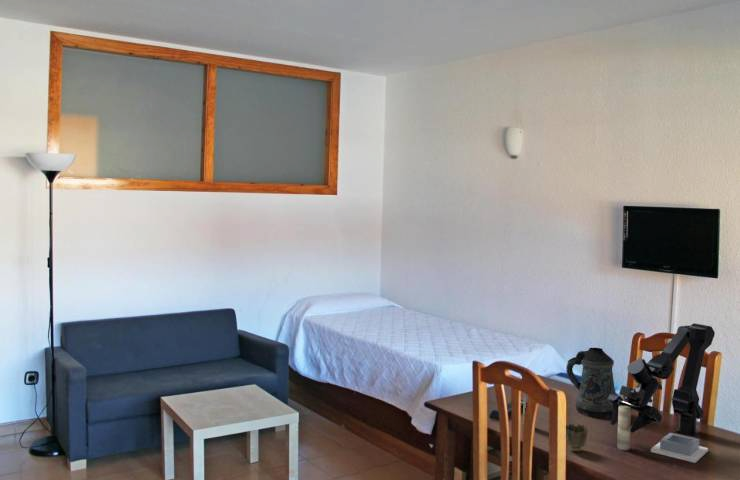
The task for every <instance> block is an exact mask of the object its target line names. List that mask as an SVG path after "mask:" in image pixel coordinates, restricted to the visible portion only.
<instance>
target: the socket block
mask: <svg viewBox="0 0 740 480" xmlns="http://www.w3.org/2000/svg"><path fill="white" fill-rule="evenodd" d="M650 452H651V453H655V454H657V455H658V454H659V455H662V456H667V457H669V458H670V457H671V458H674V459H677V460H683V461H687V462H690V463H694V464H695V463H697V462H698V461H699V460H700V459H701V458H702V457H703V456H704V455H706V453H707V452H709V448H708V447H705V446H702V445H700V439H699V438H694V437H691V436H686V435H682V434H678V433H673V432H669V433H668V434H666V435H665V436H663V437H662V438H661V439H660V441H659V442H657V444H655V445H654V446H652V447H651V448H650Z"/></svg>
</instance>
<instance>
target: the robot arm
mask: <svg viewBox="0 0 740 480" xmlns="http://www.w3.org/2000/svg"><path fill="white" fill-rule="evenodd" d="M715 334H716V333H715V330H714V328H713V327H712V325H711V326H710V325H705V324H701V323H692V324H690V325H682V326H681V325H680V326H678V328H677V330H676V333H675V334H674V335H673V336H672V338H671V339H670V340H669V342H668V344H667V345H666V346H665V347H664V348H663V350H662V351H661V353H659V354H656V355H654V356H653V357H652V358H651V359H649V360H648V362H646V360H645V359H644V358H641V357H638V359H637V360H634V361H632V362H631V363H628V365H627V367H626V368H627V372H628V373H629V374H630V376H631V377H632V379H633V380H634V382H636V383H637V386H636V387H634V386H633V387H629V386H625V385H621V387H620V391H619V395H617V394H616V395H614V394H610V395H609V397H608V398H607V400H608V401H609V402H610V404H611V405H612V406H613V415H612V418H611V422H610V425H611V426H614V425H616V424H618V408H619V406H628V407H631V411H635V412H637V418H636V419H635V421H634V422H633V424H632V426H631V427H630V434H632V433H634V432H637V431H638V430H640V429H642V428H643V427H647V426H648V425H650V424H654V423H655V424H660V423H661V421H662V419H663V417H662V414H661V413H660V411H659V410H658V409H657V408H656V407H654V406H652V405H649V403H650V404H652V403H653V399H652V398H653V396H654V394H655V393H656V392H657V390H660V391H662V390H663V387H662V386H663V385H662V382H661V381H659V380H658V379H660V380H668V378H670V376H671V375H672V372H673V371H674V369H675V368H674V363H675V361H676V360H677V358H678V357H679V356H680V354H681V353H682V352H683V351H684V349H685V347H686V346H687V345H689V349H688V355H687V359H686V364H685V368H684V373H683V377H682V381H681V386H679V387H678V388H677V389H676V388H675V389H674V390H673V394H672V397H671V405H672V409H673V413H674V414H675V413H676V414H678V415H679V420H678V422H679V423H678V428H677V429H675V432H676V433H681V434H684V435H688V436H693V437H694V436H696V435H697V434H698V433H699V432H700V429H698V428H697V425H698V424H697V422H698V420H701V419H702V418H703V416H704V413H705V411H704V410H703V408H702V407H701V405H700V403H699V402H700V396H699V393H698V391H697V388H698V383H699V378H700V374H701V370H702V364H703V361H704V357H705V356H704V355H705V352H706V350H708V348H709V347H710V346H711V345H712V343H713V340H714V338H715ZM621 396H623V397H624V399H625V400H624V399H623V398H622V397H621Z"/></svg>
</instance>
